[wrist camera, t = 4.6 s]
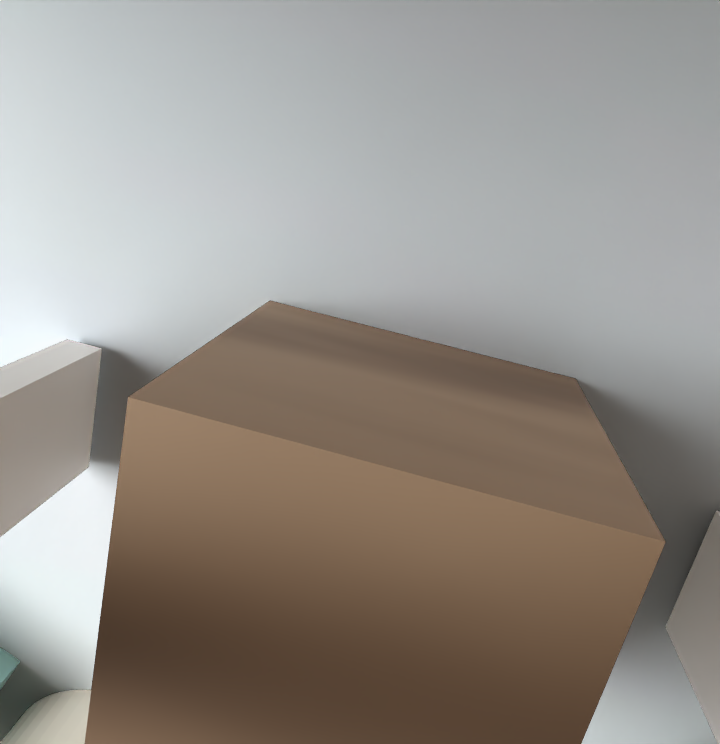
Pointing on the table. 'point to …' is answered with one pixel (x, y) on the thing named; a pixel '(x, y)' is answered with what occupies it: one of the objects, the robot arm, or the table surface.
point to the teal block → (6, 666)
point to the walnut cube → (362, 547)
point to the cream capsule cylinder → (53, 720)
